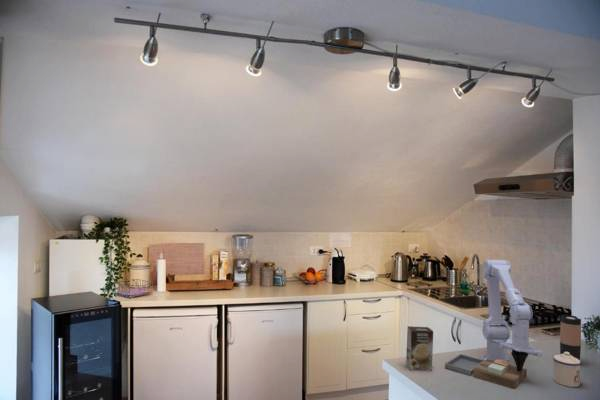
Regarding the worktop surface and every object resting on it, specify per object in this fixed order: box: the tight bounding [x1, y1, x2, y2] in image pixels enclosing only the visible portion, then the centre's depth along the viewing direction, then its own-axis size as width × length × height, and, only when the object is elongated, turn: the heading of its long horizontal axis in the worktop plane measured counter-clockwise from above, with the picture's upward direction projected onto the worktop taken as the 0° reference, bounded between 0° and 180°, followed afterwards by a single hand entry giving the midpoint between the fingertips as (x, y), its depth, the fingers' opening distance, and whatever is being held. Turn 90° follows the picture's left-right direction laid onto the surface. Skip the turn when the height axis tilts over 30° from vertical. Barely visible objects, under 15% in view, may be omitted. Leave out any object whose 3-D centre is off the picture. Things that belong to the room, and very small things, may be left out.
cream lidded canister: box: [552, 352, 582, 388], centre depth 161 cm, size 12×9×12 cm
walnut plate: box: [472, 359, 527, 390], centre depth 164 cm, size 16×15×3 cm
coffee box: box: [405, 326, 434, 371], centre depth 171 cm, size 9×6×16 cm
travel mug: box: [559, 314, 582, 361], centre depth 181 cm, size 8×8×20 cm
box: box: [444, 353, 484, 377], centre depth 173 cm, size 16×10×2 cm, turn 137°
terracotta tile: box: [494, 359, 512, 371], centre depth 166 cm, size 5×5×2 cm
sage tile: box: [488, 363, 506, 376], centre depth 161 cm, size 5×5×2 cm
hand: (519, 370), depth 161 cm, fingers closed
